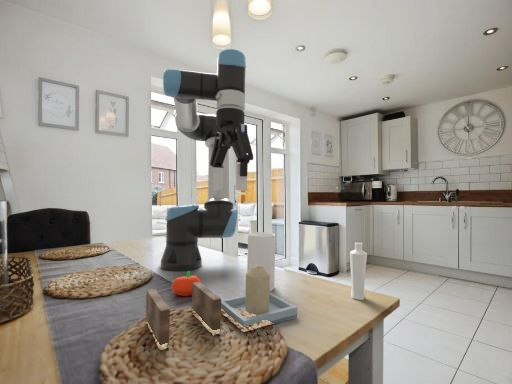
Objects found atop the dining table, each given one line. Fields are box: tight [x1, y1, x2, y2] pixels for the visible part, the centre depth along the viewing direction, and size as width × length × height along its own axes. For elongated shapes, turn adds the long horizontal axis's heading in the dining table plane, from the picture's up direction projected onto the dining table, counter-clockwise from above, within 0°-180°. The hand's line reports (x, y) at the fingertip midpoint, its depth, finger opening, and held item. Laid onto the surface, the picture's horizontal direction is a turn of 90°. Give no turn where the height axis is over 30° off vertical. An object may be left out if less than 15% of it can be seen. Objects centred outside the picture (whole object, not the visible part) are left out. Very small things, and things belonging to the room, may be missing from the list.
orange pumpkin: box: [171, 270, 202, 297], centre depth 75 cm, size 7×8×6 cm
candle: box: [245, 266, 270, 315], centre depth 63 cm, size 6×6×10 cm
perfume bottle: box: [349, 242, 368, 301], centre depth 75 cm, size 5×4×15 cm
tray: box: [221, 291, 298, 327], centre depth 63 cm, size 12×14×2 cm
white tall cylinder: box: [246, 231, 276, 292], centre depth 82 cm, size 8×8×16 cm
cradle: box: [145, 282, 222, 345], centre depth 56 cm, size 12×12×7 cm
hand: (228, 190), depth 73 cm, fingers open, 13 cm apart
